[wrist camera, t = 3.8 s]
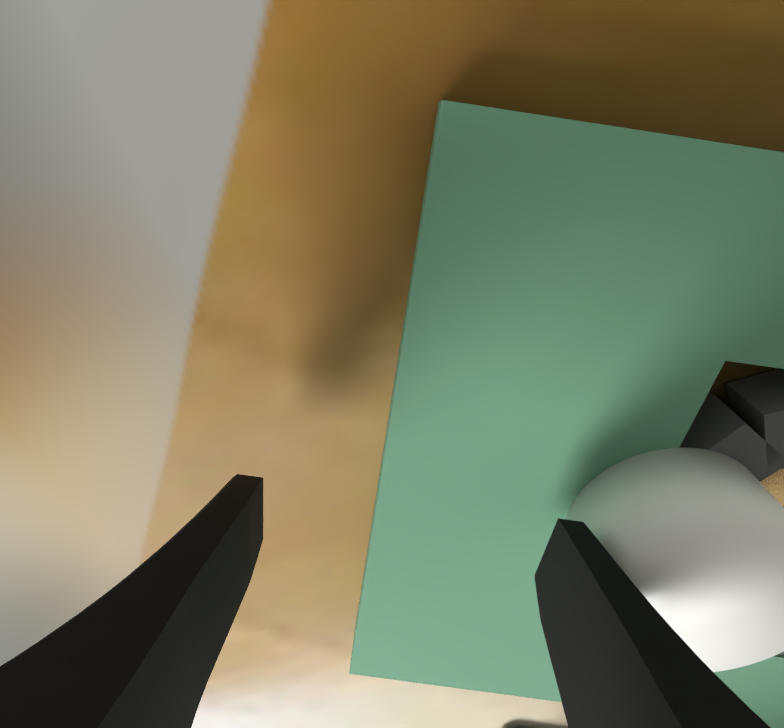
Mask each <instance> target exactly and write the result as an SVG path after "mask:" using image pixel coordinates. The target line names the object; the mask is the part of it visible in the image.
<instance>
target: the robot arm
mask: <svg viewBox="0 0 784 728" xmlns="http://www.w3.org/2000/svg"><path fill="white" fill-rule="evenodd" d="M262 541H263V478H261V477H254V476H246V475H239V474H237V475H236V476H234V477H233V478H232V479H231V480H230V481H229V482H228V483H227V484H226V485H225V486H224V487H223V488H222V489H221V490H220V492H219V493H218V494H217V495H216V496H215V497H214V498H213V499H212V500H211V501H210V502H209V503H208V504H207V505H206V506H205V507H204V508H203V509H202V510H201V511H200V512H199V513H198V514H197V515H196V516H195V517H194V518H193V519H191V520H190V521H189V522H188V523H187V524H186V525H185V526H184V527H183V528H182V529H181V530H180V531H179V532H178V533H176V534H175V535H174V536H173V537H172V538H171V539H170V540H169V541H168V542H167V543H166V544H165V545H163V546H162V547H161V548H160V549H159V550H158V551H157V552H155V553H154V554H153V555H152V556H151V557H150V558H148V559H147V560H146V561H145V562H144V563H143V564H141V565H140V566H139V567H138V568H137V569H135V570H134V571H133V572H132V573H131V574H130V575H128V576H127V577H126V578H125V579H123V580H122V581H121V582H120V583H119V584H117V585H116V586H115V587H113V588H112V589H111V590H110V591H109V592H107V593H106V594H105V595H103V596H102V597H101V598H99V599H98V600H96V601H95V602H94V603H92V604H91V605H90V606H89V607H87V608H86V609H84V610H83V611H82V612H80V613H79V614H78V615H76V616H75V617H73V618H72V619H70V620H69V621H68V622H66V623H65V624H63V625H62V626H60V627H59V628H58V629H56V630H55V631H53V632H52V633H50V634H49V635H47V636H46V637H45V638H43V639H42V640H40V641H39V642H37V643H36V644H34V645H33V646H31V647H30V648H28V649H27V650H25V651H24V652H22V653H21V654H19V655H18V656H16V657H15V658H13V659H11V660H10V661H8V662H7V663H5V664H3V665H2V666H0V728H191V726H192V723H193V720H194V717H195V714H196V711H197V708H198V705H199V702H200V700H201V697H202V695H203V692H204V689H205V687H206V684H207V682H208V679H209V677H210V674H211V672H212V670H213V667H214V665H215V663H216V660H217V658H218V656H219V653H220V651H221V649H222V646H223V644H224V642H225V639H226V637H227V635H228V632H229V630H230V628H231V625H232V623H233V621H234V618H235V616H236V614H237V611H238V609H239V607H240V604H241V602H242V599H243V597H244V595H245V592H246V590H247V588H248V585H249V583H250V580H251V577H252V574H253V570H254V567H255V564H256V561H257V557H258V554H259V551H260V547H261V544H262ZM534 576H535V584H536V592H537V600H538V606H539V613H540V619H541V624H542V628H543V632H544V636H545V640H546V644H547V647H548V651H549V655H550V659H551V663H552V667H553V670H554V674H555V678H556V682H557V685H558V689H559V693H560V697H561V701H562V704H563V708H564V712H565V716H566V719H567V723H568V727H569V728H771V727H770V726H769V725H767V724H766V723H765V722H764V721H763V720H762V719H761V718H760V717H759V716H758V715H757V714H756V713H755V712H753V711H752V710H751V709H750V708H749V707H748V706H747V705H746V704H745V703H744V702H743V701H742V700H741V699H740V698H739V697H738V696H737V695H736V694H735V693H734V692H733V691H732V690H731V689H730V688H729V687H728V686H727V685H726V684H725V683H724V682H723V681H722V680H721V679H720V678H719V677H718V676H717V675H716V674H715V673H714V672H713V671H712V670H711V669H710V668H709V667H708V666H707V665H706V664H705V663H704V662H703V661H702V660H701V659H700V658H699V657H698V656H697V655H696V654H695V653H694V652H693V650H692V649H691V648H690V647H689V646H688V645H687V644H686V643H685V642H684V641H683V640H682V639H681V637H680V636H679V635H678V634H677V633H676V632H675V631H674V630H673V629H672V628H671V627H670V625H669V624H668V623H667V622H666V621H665V620H664V619H663V617H662V616H661V615H660V614H659V613H658V612H657V611H656V609H655V608H654V607H653V606H652V605H651V604H650V602H649V601H648V600H647V599H646V598H645V597H644V595H643V594H642V593H641V592H640V591H639V589H638V588H637V587H636V586H635V585H634V583H633V582H632V581H631V580H630V579H629V577H628V576H627V575H626V574H625V572H624V571H623V570H622V569H621V568H620V566H619V565H618V564H617V563H616V561H615V560H614V559H613V558H612V556H611V555H610V554H609V553H608V551H607V550H606V549H605V548H604V546H603V545H602V544H601V543H600V542H599V540H598V539H597V538H596V537H595V535H594V534H593V533H592V532H591V530H590V529H589V528H588V527H587V526H586V524H585V523H584V522H581V521H573V520H566V519H559V518H558V520H557V522H556V525H555V527H554V529H553V532H552V534H551V537H550V539H549V541H548V544H547V546H546V549H545V551H544V554H543V556H542V558H541V561H540V563H539V566H538V568H537V571H536V573H535V575H534Z"/></svg>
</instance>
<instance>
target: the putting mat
mask: <svg viewBox="0 0 784 728" xmlns="http://www.w3.org/2000/svg"><path fill="white" fill-rule="evenodd" d="M725 361H731V362H738V363H745V364H752V365H759V366H766V367H773V368H778V369H775V370H771V371H768V372H764V373H761V374H757V375H753V376H750V377H746V378H743V379H739V380H736V381H732V382H729V383H726V385H727V395H728V405H729V407H728V406H727V405H726V404H725V403H723V402H722V401H721V400H720V399H719V398H718V397H717V396H715V395H714V394H713V393H712V392H711V391H710V389H711V387H712V385H713V383H714V381H715V379H716V378H717V376H718V374H719V372H720V370H721V368H722V366H723V364H724V363H725ZM709 391H710V392H709ZM668 448H699V449H706V450H711V451H715V452H718V453H721V454H724V455H727V456H729V457H731V458H733V459H735V460H737V461H738V462H740V463H741V464H742V465H744V466H745V467H746V468H747V469H748V470H749V471H750V472H751V473H752V474H753V475H754V476H755V477H756V478H757V479H758V480H759V481H762V480H763V479H765V478H766V477H768V476H769V475H771V474H773V473H774V472H776V471H777V470H779V469H782V468H784V152H779V151H773V150H766V149H759V148H753V147H746V146H740V145H733V144H727V143H720V142H714V141H707V140H701V139H694V138H688V137H681V136H675V135H668V134H662V133H655V132H649V131H642V130H636V129H629V128H623V127H616V126H610V125H603V124H597V123H590V122H584V121H577V120H570V119H564V118H557V117H551V116H544V115H538V114H531V113H525V112H518V111H512V110H505V109H499V108H492V107H486V106H479V105H473V104H466V103H460V102H453V101H447V100H441V101H440V102H439V103H438V109H437V115H436V121H435V128H434V134H433V140H432V147H431V153H430V159H429V166H428V172H427V178H426V185H425V191H424V197H423V204H422V210H421V216H420V222H419V229H418V235H417V241H416V248H415V254H414V260H413V267H412V273H411V279H410V286H409V292H408V298H407V305H406V311H405V317H404V323H403V330H402V336H401V342H400V349H399V355H398V361H397V368H396V374H395V380H394V387H393V393H392V399H391V406H390V412H389V418H388V425H387V431H386V437H385V443H384V450H383V456H382V462H381V469H380V475H379V481H378V488H377V494H376V500H375V507H374V513H373V519H372V526H371V532H370V538H369V545H368V551H367V557H366V563H365V570H364V576H363V582H362V589H361V595H360V601H359V608H358V614H357V620H356V627H355V633H354V641H353V649H352V657H351V664H350V672H349V674H356V675H363V676H371V677H378V678H386V679H393V680H401V681H408V682H416V683H423V684H431V685H438V686H446V687H453V688H461V689H468V690H476V691H484V692H491V693H499V694H506V695H514V696H521V697H529V698H536V699H544V700H551V701H559V702H562V701H561V697H560V693H559V689H558V685H557V682H556V678H555V674H554V670H553V667H552V663H551V659H550V655H549V651H548V647H547V644H546V640H545V636H544V632H543V628H542V624H541V619H540V613H539V606H538V600H537V592H536V584H535V576H534V575H535V573H536V571H537V568H538V566H539V563H540V561H541V558H542V556H543V554H544V551H545V549H546V546H547V544H548V541H549V539H550V537H551V534H552V532H553V529H554V527H555V525H556V522H557V520H558V518H559V519H566V518H567V515H568V512H569V509H570V507H571V505H572V503H573V501H574V499H575V498H576V497H577V495H578V494H579V493H580V491H581V490H582V489H583V488H584V487H585V486H586V485H587V484H588V483H589V482H590V481H591V480H593V479H594V478H595V477H596V476H597V475H599V474H600V473H602V472H603V471H605V470H606V469H608V468H609V467H611V466H613V465H615V464H617V463H619V462H621V461H623V460H626V459H628V458H631V457H633V456H636V455H639V454H643V453H646V452H650V451H655V450H660V449H668ZM714 673H715V674H716V675H717V676H718V677H719V678H720V679H721V680H722V681H723V682H724V683H725V684H726V685H727V686H728V687H729V688H730V689H731V690H732V691H733V692H734V693H735V694H736V695H737V696H738V697H739V698H740V699H741V700H742V701H743V702H744V703H745V704H746V705H747V706H748V707H749V708H750V709H751V710H752V711H753V712H755V713H756V714H757V715H758V716H759V717H760V718H761V719H762V720H763V721H764V722H765V723H766V724H767V725H769V726H770V727H771V728H784V651H783V652H781V653H779V654H777V655H775V656H773V657H770V658H768V659H765V660H763V661H760V662H757V663H754V664H751V665H747V666H743V667H739V668H735V669H730V670H725V671H718V672H714Z"/></svg>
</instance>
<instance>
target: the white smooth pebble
mask: <svg viewBox="0 0 784 728" xmlns="http://www.w3.org/2000/svg"><path fill="white" fill-rule="evenodd" d="M566 520H573V521H581V522H584V523H585V524H586V526H587V527H588V528H589V529H590V530H591V532H592V533H593V534H594V535H595V537H596V538H597V539H598V540H599V542H600V543H601V544H602V545H603V546H604V548H605V549H606V550H607V551H608V553H609V554H610V555H611V556H612V558H613V559H614V560H615V561H616V563H617V564H618V565H619V566H620V568H621V569H622V570H623V571H624V572H625V574H626V575H627V576H628V577H629V579H630V580H631V581H632V582H633V583H634V585H635V586H636V587H637V588H638V589H639V591H640V592H641V593H642V594H643V595H644V597H645V598H646V599H647V600H648V601H649V602H650V604H651V605H652V606H653V607H654V608H655V609H656V611H657V612H658V613H659V614H660V615H661V616H662V617H663V619H664V620H665V621H666V622H667V623H668V624H669V625H670V627H671V628H672V629H673V630H674V631H675V632H676V633H677V634H678V635H679V636H680V637H681V639H682V640H683V641H684V642H685V643H686V644H687V645H688V646H689V647H690V648H691V649H692V650H693V652H694V653H695V654H696V655H697V656H698V657H699V658H700V659H701V660H702V661H703V662H704V663H705V664H706V665H707V666H708V667H709V668H710V669H711V670H712V671H713V672H718V671H725V670H730V669H735V668H739V667H743V666H747V665H751V664H754V663H757V662H760V661H763V660H765V659H768V658H770V657H773V656H775V655H777V654H779V653H781V652H783V651H784V507H783V506H782V505H781V503H780V502H779V501H778V500H777V499H776V498H775V497H774V496H773V495H772V494H771V493H770V492H769V491H768V490H767V489H766V488H765V487H764V486H763V484H762V483H761V482H760V481H759V480H758V479H757V478H756V477H755V476H754V475H753V474H752V473H751V472H750V471H749V470H748V469H747V468H746V467H745V466H744V465H742V464H741V463H740V462H738V461H737V460H735V459H733V458H731V457H729V456H727V455H724V454H721V453H718V452H715V451H711V450H706V449H699V448H668V449H660V450H655V451H650V452H646V453H643V454H639V455H636V456H633V457H631V458H628V459H626V460H623V461H621V462H619V463H617V464H615V465H613V466H611V467H609V468H608V469H606V470H605V471H603V472H602V473H600V474H599V475H597V476H596V477H595V478H594V479H593V480H591V481H590V482H589V483H588V484H587V485H586V486H585V487H584V488H583V489H582V490H581V491H580V493H579V494H578V495H577V497H576V498H575V499H574V501H573V503H572V505H571V507H570V509H569V512H568V515H567V518H566Z"/></svg>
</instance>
